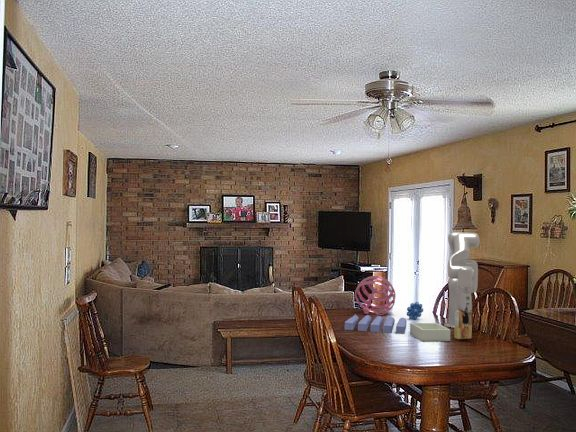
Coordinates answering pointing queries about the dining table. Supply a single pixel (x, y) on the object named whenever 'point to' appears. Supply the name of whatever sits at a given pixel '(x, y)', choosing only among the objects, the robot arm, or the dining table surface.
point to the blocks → (376, 324)
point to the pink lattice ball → (371, 297)
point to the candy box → (462, 326)
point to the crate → (429, 332)
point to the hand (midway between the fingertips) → (463, 322)
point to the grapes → (414, 310)
